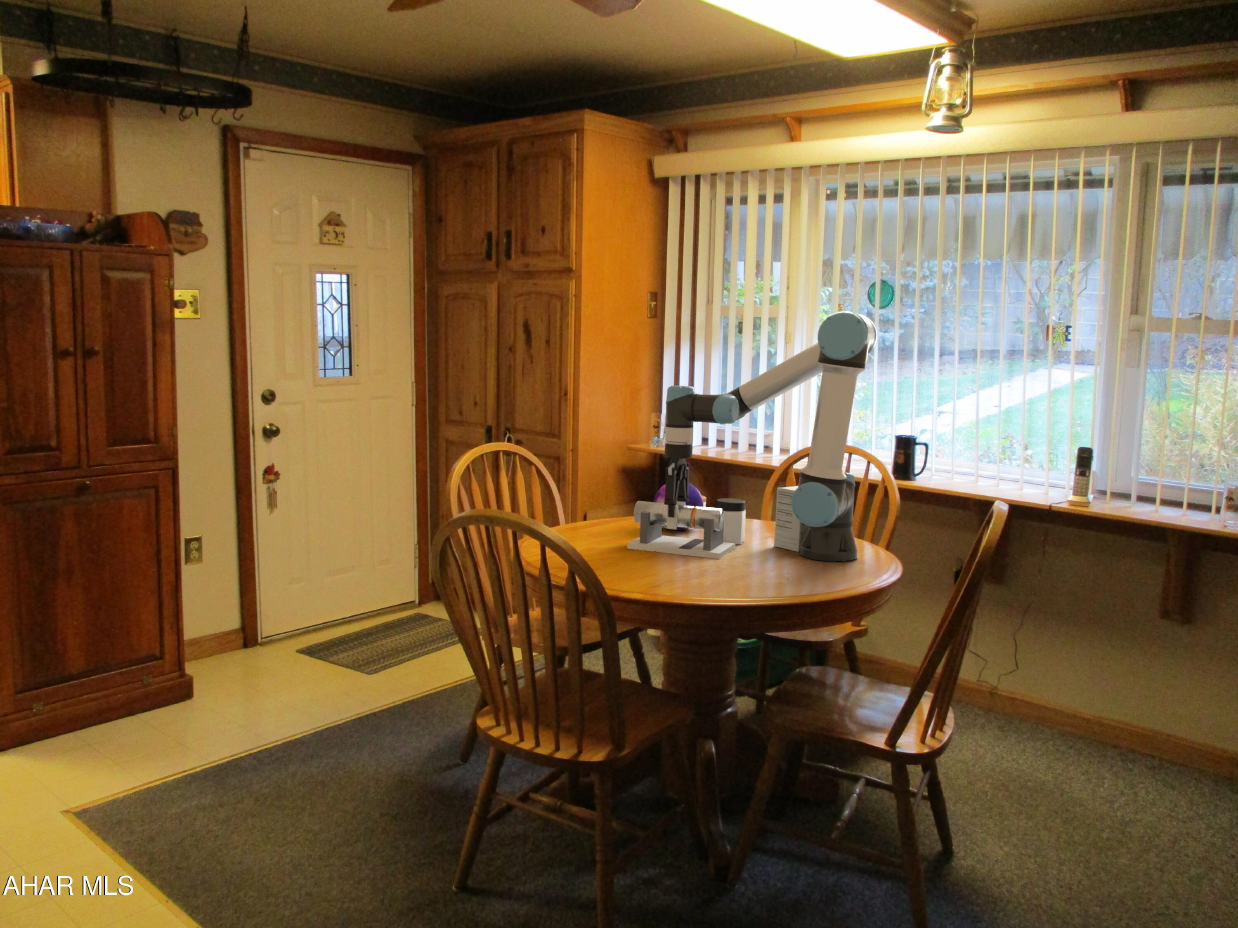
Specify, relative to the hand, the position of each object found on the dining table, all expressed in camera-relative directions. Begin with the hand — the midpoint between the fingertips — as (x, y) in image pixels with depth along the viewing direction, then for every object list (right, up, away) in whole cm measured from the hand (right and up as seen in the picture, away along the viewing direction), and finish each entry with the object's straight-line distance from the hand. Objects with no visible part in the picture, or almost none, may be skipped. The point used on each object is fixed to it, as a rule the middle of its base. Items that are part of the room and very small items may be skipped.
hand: (675, 526), depth 263 cm
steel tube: (+1, +3, -1) cm, 3 cm away
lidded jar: (+7, -1, +44) cm, 45 cm away
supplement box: (+34, -7, +6) cm, 35 cm away
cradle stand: (+2, -6, 0) cm, 6 cm away
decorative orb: (+2, -3, +28) cm, 28 cm away
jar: (+16, -5, +11) cm, 20 cm away
